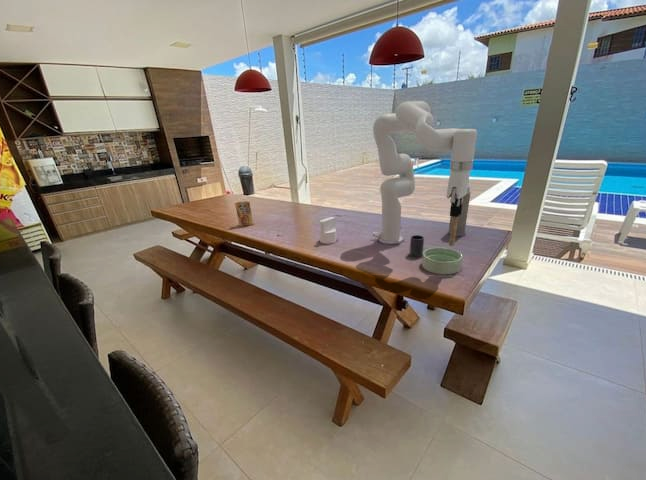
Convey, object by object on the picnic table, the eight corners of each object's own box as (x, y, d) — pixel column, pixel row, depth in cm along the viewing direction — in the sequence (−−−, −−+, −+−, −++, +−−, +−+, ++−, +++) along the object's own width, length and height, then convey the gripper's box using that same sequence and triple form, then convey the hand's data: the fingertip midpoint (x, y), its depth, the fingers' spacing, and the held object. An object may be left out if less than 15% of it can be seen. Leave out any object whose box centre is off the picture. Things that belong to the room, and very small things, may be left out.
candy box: (253, 222, 203) (249, 200, 197) (253, 224, 200) (249, 201, 193) (239, 224, 202) (235, 201, 195) (239, 226, 198) (234, 202, 192)
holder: (410, 258, 139) (411, 239, 136) (409, 253, 145) (410, 235, 141) (423, 258, 138) (424, 239, 135) (421, 253, 144) (423, 235, 140)
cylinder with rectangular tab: (328, 236, 171) (327, 215, 166) (340, 240, 165) (339, 218, 160) (316, 241, 166) (315, 219, 160) (328, 245, 160) (327, 222, 155)
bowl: (424, 275, 124) (425, 261, 121) (419, 259, 137) (420, 247, 135) (464, 276, 121) (466, 262, 119) (456, 260, 135) (457, 247, 132)
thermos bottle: (452, 236, 160) (459, 182, 148) (445, 231, 168) (452, 179, 155) (467, 235, 161) (475, 181, 149) (460, 230, 168) (467, 178, 156)
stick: (449, 246, 124) (454, 201, 116) (448, 244, 125) (453, 200, 118) (454, 246, 123) (460, 201, 116) (453, 244, 125) (459, 200, 117)
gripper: (457, 163, 119) (452, 209, 127) (443, 168, 108) (438, 219, 116) (478, 163, 114) (471, 211, 122) (465, 169, 103) (458, 222, 111)
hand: (455, 215), depth 119 cm, fingers closed on stick, 2 cm apart
